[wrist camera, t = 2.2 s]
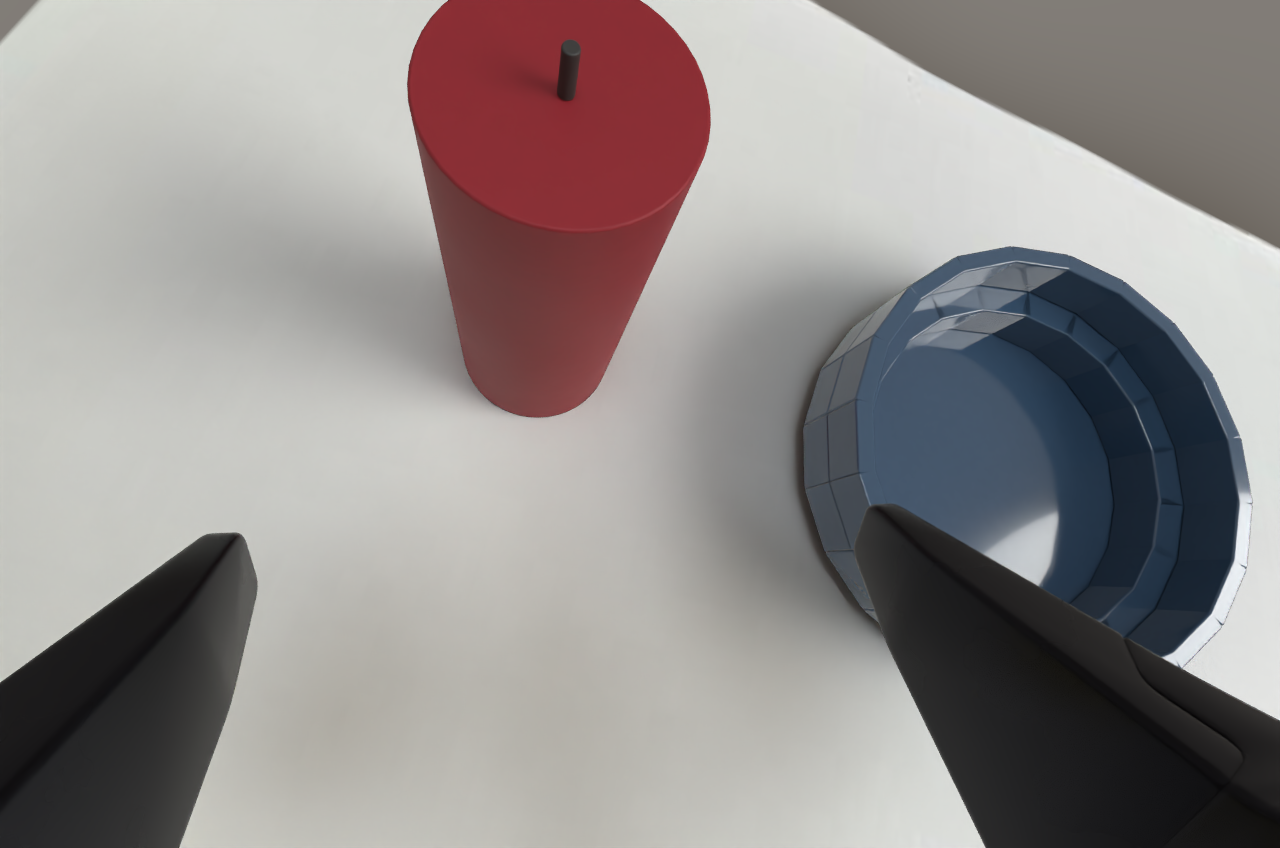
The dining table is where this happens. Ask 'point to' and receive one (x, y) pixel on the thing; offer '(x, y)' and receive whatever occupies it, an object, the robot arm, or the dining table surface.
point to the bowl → (1040, 442)
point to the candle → (552, 179)
